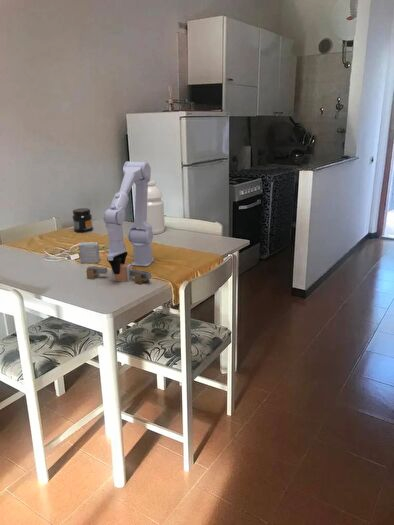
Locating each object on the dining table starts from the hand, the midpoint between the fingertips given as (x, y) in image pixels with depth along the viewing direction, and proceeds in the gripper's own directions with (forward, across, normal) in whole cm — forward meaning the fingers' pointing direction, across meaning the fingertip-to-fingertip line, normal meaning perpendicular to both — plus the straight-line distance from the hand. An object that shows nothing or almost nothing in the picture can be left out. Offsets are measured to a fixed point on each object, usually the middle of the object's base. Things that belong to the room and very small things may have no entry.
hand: (118, 271), depth 171 cm
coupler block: (+3, 0, +1) cm, 3 cm away
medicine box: (+3, -17, -21) cm, 27 cm away
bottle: (+3, -70, -9) cm, 70 cm away
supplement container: (+3, -66, -49) cm, 82 cm away
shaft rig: (+3, +1, 0) cm, 3 cm away
